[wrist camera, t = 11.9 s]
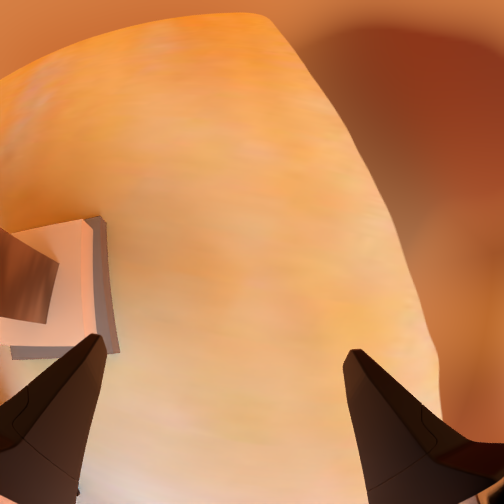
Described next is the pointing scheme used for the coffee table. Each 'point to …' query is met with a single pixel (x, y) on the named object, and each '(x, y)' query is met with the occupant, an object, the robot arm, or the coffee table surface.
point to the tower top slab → (60, 288)
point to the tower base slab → (101, 302)
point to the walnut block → (25, 280)
